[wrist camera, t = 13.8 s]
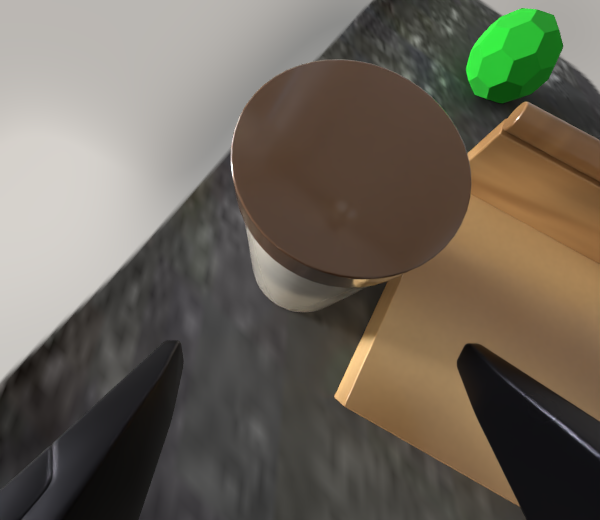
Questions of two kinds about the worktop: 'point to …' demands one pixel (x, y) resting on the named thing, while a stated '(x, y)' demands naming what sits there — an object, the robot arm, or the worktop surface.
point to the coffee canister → (345, 180)
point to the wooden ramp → (493, 297)
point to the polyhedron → (514, 55)
